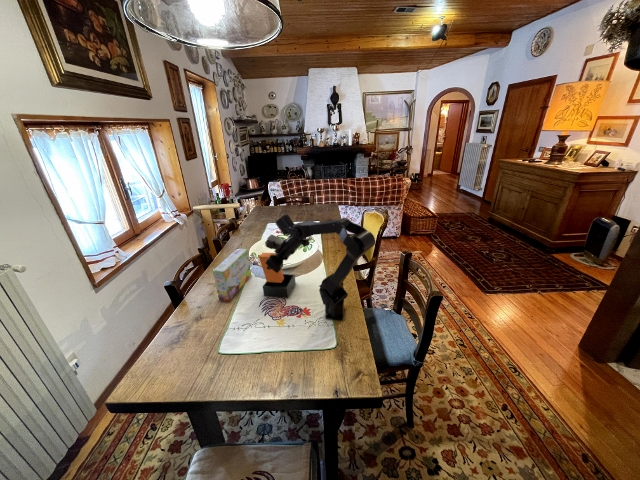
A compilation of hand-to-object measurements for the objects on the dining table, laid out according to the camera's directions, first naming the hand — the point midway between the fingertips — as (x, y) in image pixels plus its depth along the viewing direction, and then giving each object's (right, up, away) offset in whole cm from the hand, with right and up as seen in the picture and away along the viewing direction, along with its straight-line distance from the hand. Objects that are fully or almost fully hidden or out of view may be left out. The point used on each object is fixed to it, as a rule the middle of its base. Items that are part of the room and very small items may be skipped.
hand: (269, 266), depth 106 cm
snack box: (-17, -11, +12) cm, 23 cm away
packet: (+2, -6, +3) cm, 7 cm away
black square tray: (+4, -11, +8) cm, 14 cm away
